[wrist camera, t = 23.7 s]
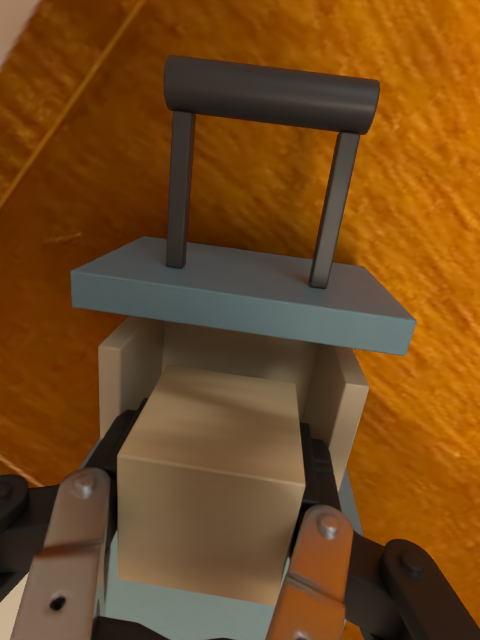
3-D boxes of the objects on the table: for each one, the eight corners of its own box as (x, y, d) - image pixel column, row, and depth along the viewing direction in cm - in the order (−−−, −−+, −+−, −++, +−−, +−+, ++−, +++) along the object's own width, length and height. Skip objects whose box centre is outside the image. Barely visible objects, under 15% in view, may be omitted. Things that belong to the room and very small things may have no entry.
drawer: (147, 82, 15) (55, 16, 9) (403, 114, 15) (500, 69, 8) (138, 446, 22) (84, 555, 16) (312, 473, 22) (327, 596, 15)
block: (161, 463, 15) (116, 580, 11) (167, 363, 13) (115, 454, 9) (275, 481, 15) (275, 607, 10) (296, 382, 13) (306, 485, 9)
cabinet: (134, 383, 22) (52, 506, 14) (333, 413, 21) (369, 559, 13) (132, 544, 27) (71, 703, 19) (292, 571, 26) (300, 745, 18)
